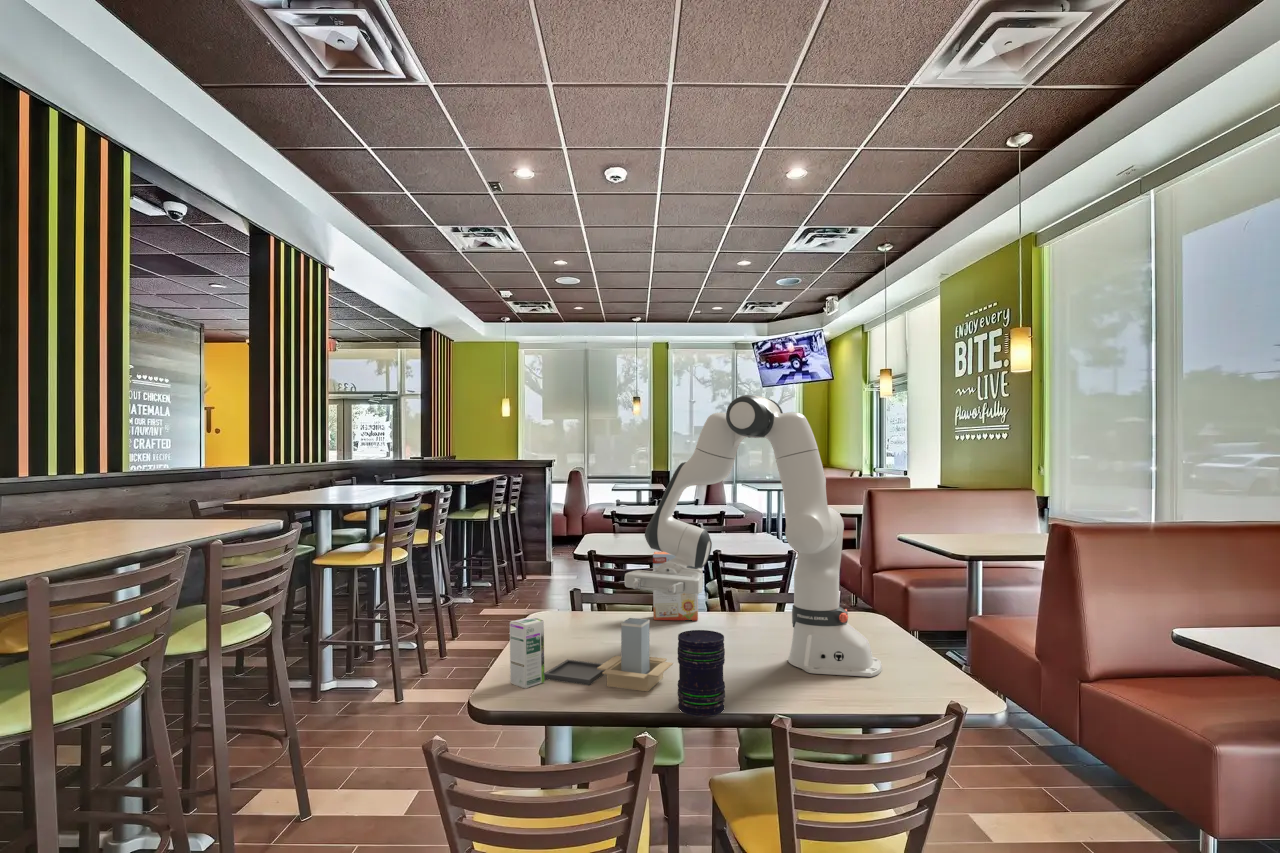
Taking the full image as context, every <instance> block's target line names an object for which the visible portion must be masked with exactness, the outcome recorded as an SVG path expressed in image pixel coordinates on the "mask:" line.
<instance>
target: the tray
mask: <svg viewBox="0 0 1280 853" xmlns="http://www.w3.org/2000/svg"><path fill="white" fill-rule="evenodd" d="M602 664H603V663H599V662H593V661H583V660H576V659H575V660H574V659H568V658H567V659H566V660H564V661H562V662H561V663H559V664H557V665H556V666H554V667H552V668H550V669H549V670H547V671H546V672H545V671H544V679H545V680H548V679H550V680H549V681H555V682H556V681H557V682H564V683H569V684H570V683H572V684H577V685H584V686H585V685H586V686H590V685H592V684H593V683H594V682H596V681H597V680H599V679H600V678H602V677H603V676H604V675H605V674H602V672H604V671H605V670H599V669H597V668H598V667H599V666H601V665H602ZM591 683H592V684H591Z"/></svg>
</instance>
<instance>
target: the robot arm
mask: <svg viewBox="0 0 1280 853" xmlns="http://www.w3.org/2000/svg"><path fill="white" fill-rule="evenodd" d="M746 438H751V439H752V438H754V439H760V438H761V439H763V438H764V439H765V438H766V439H767V441H769V442H770V444H771V448H772V450H773V455H774V458H775V463H776V466H777V471H778V474H779V478H780V484H781V487H782V494H783V505H784V507H783V508H784V515H785V531H784V534H785V539H786V541H787V543H788V545H789V547H791V548H792V550H794V551H796V552H798V553H797V560H796V564H795V566H796V567H795V569H794V573H793V600H794V601H793V605H792V609H791V624H792V628H793V632H792V639H791V647H790V650H789V655H788V658H787V661H788V663H789V664H790V665H792V666H794V667H797V668H798V669H802V670H803V671H805V672H806V673H809V674H817V675H832V676H833V675H834V676H835V675H837V676H851V677H852V676H855V677H869V678H870V677H875V676H877V675H879V674H880V673H881V671H882V669H883V667H882V662H881V660H880V659H879V658H877V657H875V656H873V653H872V647H871V644H870V642H869V640H868V638H867V637H865V635H864V634H862V633H861V632H859V630H858V629H856V628H854V626H852V625H851V624H850V623H848V622H849V615H848V614H849V613H848V610H847V609H848V608H845V609H844V608H843V607H841V606H840V568H841V561H842V552H843V539H844V538H843V537H844V532H845V531H844V530H845V529H844V528H845V522H844V519H843V517H842V516H841V514H840V513H839V512H838V511H836V509H834V508H832V507H831V506H828V499H827V498H828V497H827V487H826V486H827V485H826V484H827V479H826V474H825V470H824V466H823V462H822V459H821V455H820V452H819V447H818V443H817V441H816V438H815V435H814V432H813V429H812V426H811V424H810V423H809V421H808V419H807V418H806V416H805V415H804V414H802V413H800V412H796V411H789V412H783V409H782V408H781V407H780V405H779V404H778V403H777V402H776V401H774V400H772V399H771V398H765V397H764V396H761V395H754V394H753V395H751V394H744V395H741V396H738V397H736V398H734V399H733V400H732V401H731V402H730V403H729V404H728V407H727V409H726V412H715V413H711V414H710V415H709V416H708V417H707V419H706V421H705V423H704V425H703V426H702V428H701V430H700V434H699V436H698V440H697V442H696V445H695V450H694V452H693V454H692V455H691V457H690V458H689V459H687V461H684V462H681V463H680V464H679V465H678V466H677V467H676V469H675V471H674V472H673V474H672V477H671V478H670V480H669V482H668V484H667V486H666V489H665V490H664V493H663V495H662V497H661V499H660V502H659V503H658V506H657V507H656V510H655V511H654V514H653V515H652V517H651V519H650V520H649V522H648V524H647V526H646V527H645V528H646V529H645V531H644V532H645V533H644V539H645V541H646V542H647V544H648V546H649V547H650V549H651V550H656V551H657V552H666V553H669V554H671V555H674V556H676V557H675V558H673V559H672V560H669V561H667V562H665V563H662V564H661V565H659V566H658V568H657V569H656V571H653V570H644V569H643V570H642V569H636V570H632V571H628V572H626V573H624V586H625V587H626V588H631V589H634V590H650V591H653V590H658V591H661V592H662V593H663V594H666V595H676V594H684V593H688V594H698V595H700V594H702V593H703V586H704V574H703V568H704V567H705V566H706V564H707V563H708V561H709V559H710V555H711V552H712V545H713V544H712V539H711V536H710V534H709V532H708V531H707V529H704V528H702V527H699V526H696V525H694V524H691V523H687V522H684V521H682V520H679V519H676V518H674V516H673V514H674V512H675V509H676V507H677V504H678V502H679V501H680V498H681V496H682V494H683V492H684V491H685V490H686V489H687V488H689V487H692V486H708V485H715V484H718V483H721V482H723V481H724V480H726V479H727V478H728V477H729V475H730V473H731V471H732V469H733V467H734V463H735V459H736V457H737V453H738V449H739V446H740V444H741V442H742V441H743V440H745V439H746Z"/></svg>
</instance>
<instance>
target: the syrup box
mask: <svg viewBox="0 0 1280 853" xmlns="http://www.w3.org/2000/svg"><path fill="white" fill-rule="evenodd" d="M544 623H545V622H544V620H543V619H540V618H537V617H532V616H531V617H530V616H527V617H525V618H521V619H520V618H519V619H516V620H511V621H509V655H510V656H509V665H510V666H509V668H510V669H509V670H510V671H509V672H510V675H509V676H510V677H509V678H510V680H509V681H510V683H511V684H512V685H514V686H516V687H519V688H522V689H528V688H530V687H534V686H537V685H540V684H544V683H545V680H546V679H544V673H545V624H544Z"/></svg>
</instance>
